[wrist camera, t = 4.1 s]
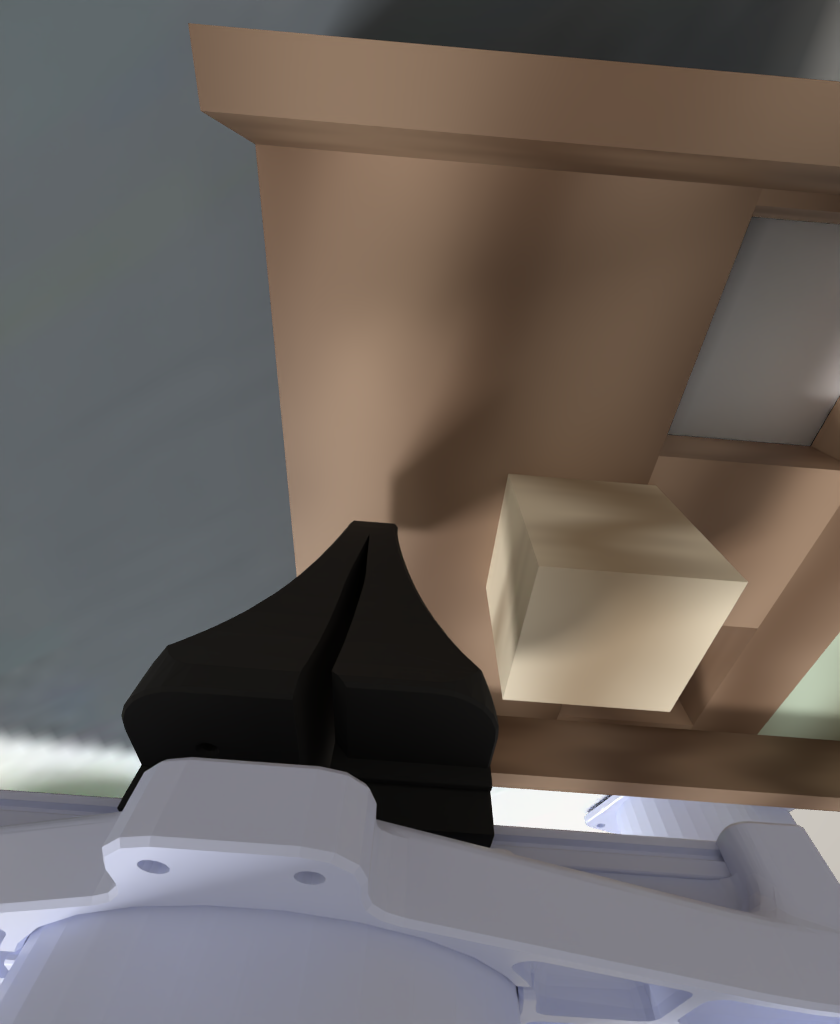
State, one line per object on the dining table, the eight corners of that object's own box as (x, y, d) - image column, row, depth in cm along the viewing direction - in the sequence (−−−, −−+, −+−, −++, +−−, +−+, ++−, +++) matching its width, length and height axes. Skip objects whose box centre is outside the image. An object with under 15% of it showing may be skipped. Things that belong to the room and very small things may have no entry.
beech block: (656, 485, 13) (748, 582, 9) (611, 597, 15) (670, 711, 12) (508, 473, 13) (539, 566, 9) (485, 587, 15) (502, 699, 11)
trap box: (1405, 207, 11) (2055, 176, 6) (880, 719, 21) (991, 835, 17) (280, 109, 10) (170, 6, 6) (320, 678, 21) (291, 785, 17)
